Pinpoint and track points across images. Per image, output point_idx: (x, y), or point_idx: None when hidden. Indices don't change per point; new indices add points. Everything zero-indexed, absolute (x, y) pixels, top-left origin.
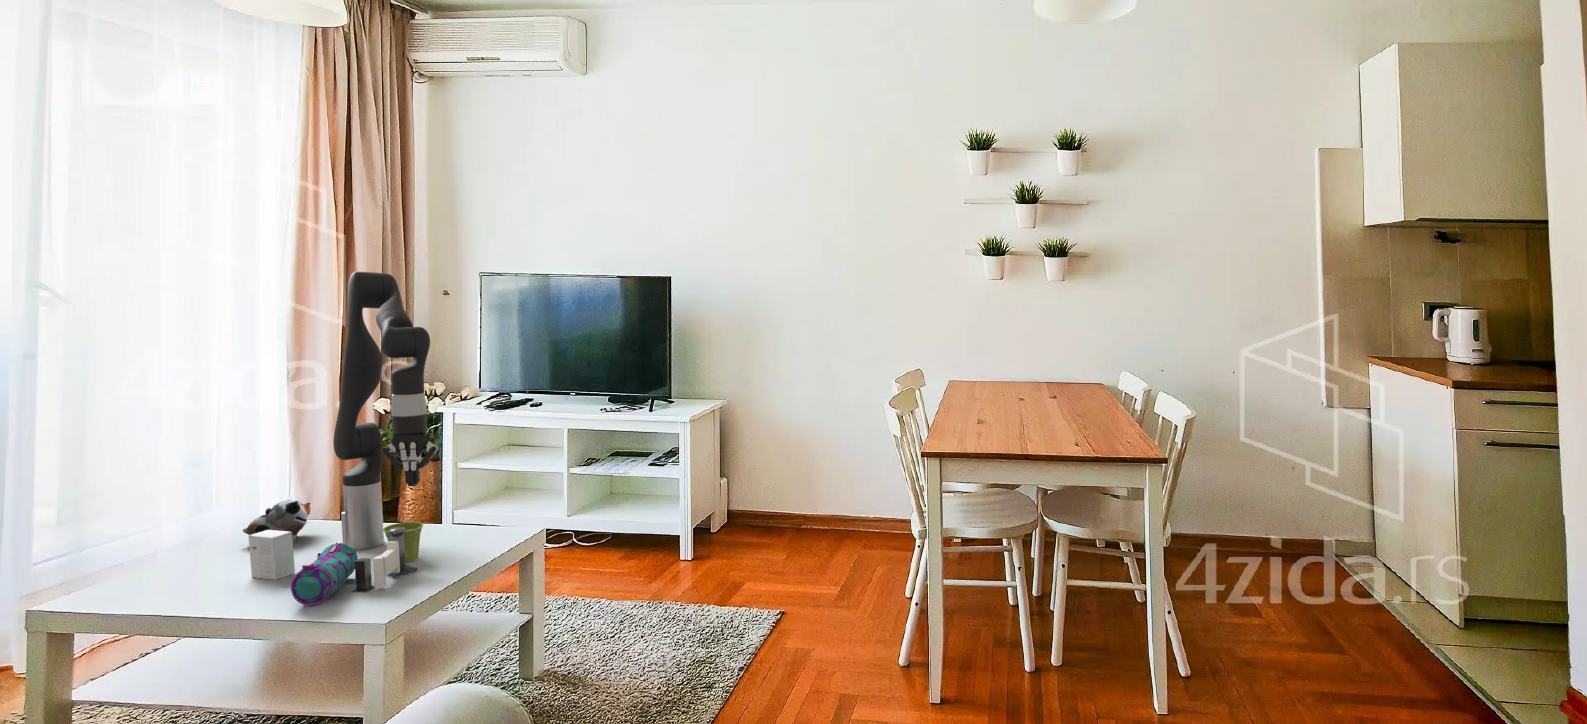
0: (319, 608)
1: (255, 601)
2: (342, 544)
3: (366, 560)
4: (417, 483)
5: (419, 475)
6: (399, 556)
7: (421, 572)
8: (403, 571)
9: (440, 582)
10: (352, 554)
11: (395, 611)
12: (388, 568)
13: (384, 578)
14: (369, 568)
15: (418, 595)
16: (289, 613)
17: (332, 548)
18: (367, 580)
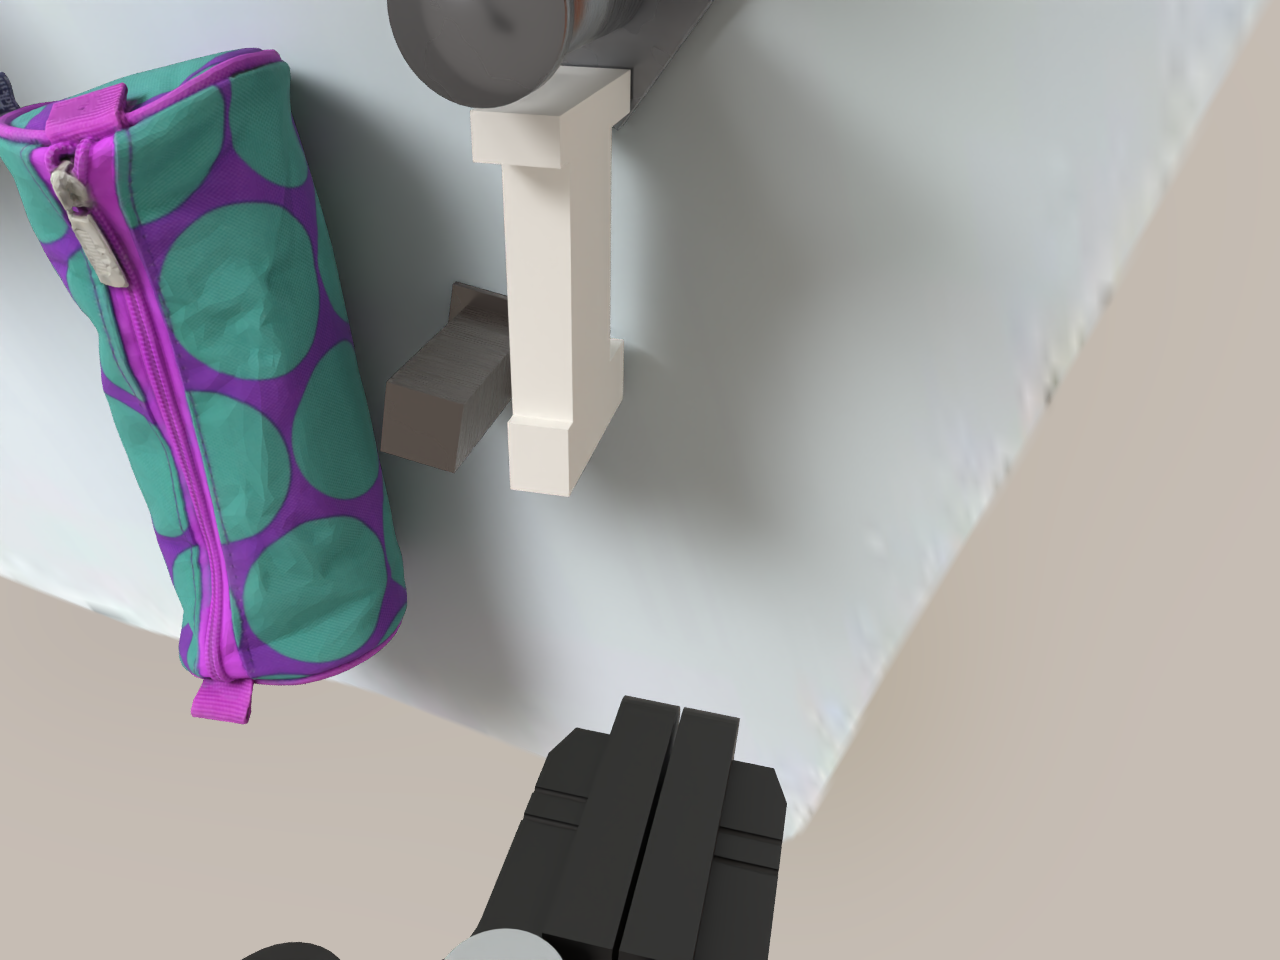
0: None
1: (14, 409)
2: (106, 165)
3: (457, 448)
4: (738, 723)
5: (774, 891)
6: (590, 42)
7: (790, 6)
8: (654, 54)
9: (987, 308)
10: (232, 142)
11: (803, 730)
12: (599, 321)
13: (610, 387)
14: (487, 392)
15: (876, 532)
16: None
17: (89, 249)
18: (508, 388)
